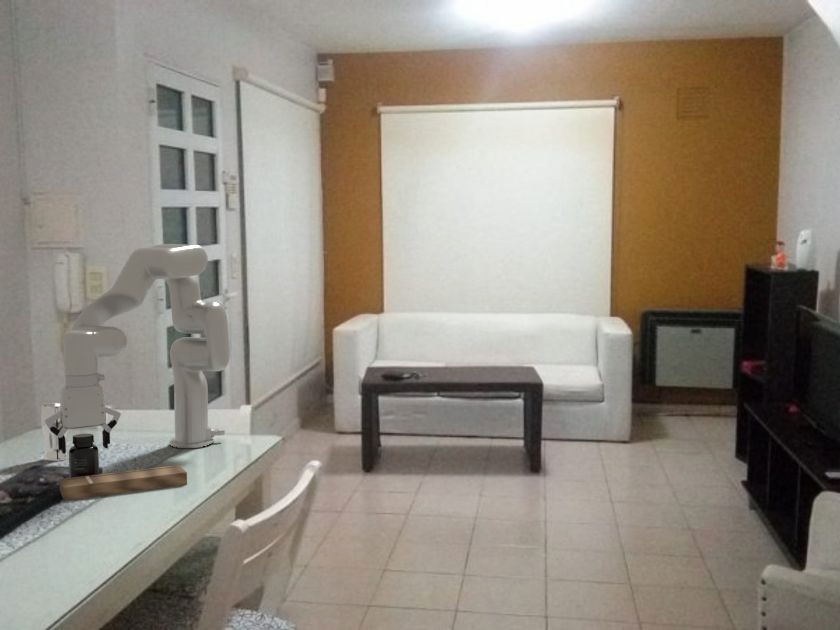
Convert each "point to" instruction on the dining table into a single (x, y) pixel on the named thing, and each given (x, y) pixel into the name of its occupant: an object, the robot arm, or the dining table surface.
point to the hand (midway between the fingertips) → (84, 449)
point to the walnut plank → (122, 482)
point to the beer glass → (50, 438)
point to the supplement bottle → (83, 456)
